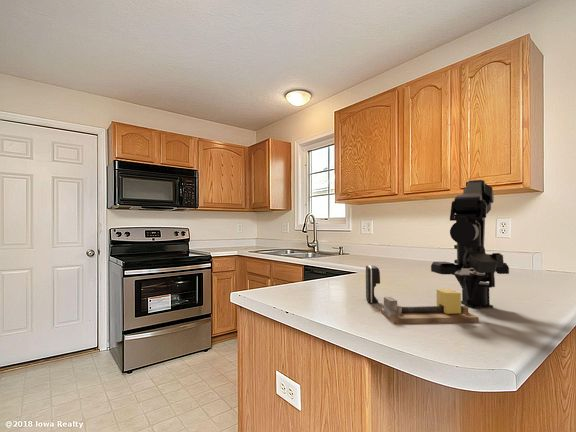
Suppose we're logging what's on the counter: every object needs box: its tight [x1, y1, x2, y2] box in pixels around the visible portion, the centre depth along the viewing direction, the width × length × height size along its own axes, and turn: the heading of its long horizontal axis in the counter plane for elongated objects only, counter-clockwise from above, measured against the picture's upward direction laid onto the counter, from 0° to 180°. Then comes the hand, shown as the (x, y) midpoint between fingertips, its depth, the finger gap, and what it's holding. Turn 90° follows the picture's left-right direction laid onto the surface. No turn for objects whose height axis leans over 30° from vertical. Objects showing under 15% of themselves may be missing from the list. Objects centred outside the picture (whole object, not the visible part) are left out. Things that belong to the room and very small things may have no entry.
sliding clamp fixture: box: [380, 296, 480, 324], centre depth 85 cm, size 22×10×5 cm, turn 93°
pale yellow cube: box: [436, 288, 462, 314], centre depth 86 cm, size 4×5×5 cm
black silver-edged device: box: [365, 264, 381, 304], centre depth 103 cm, size 7×4×11 cm, turn 174°
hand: (469, 299), depth 86 cm, fingers closed
